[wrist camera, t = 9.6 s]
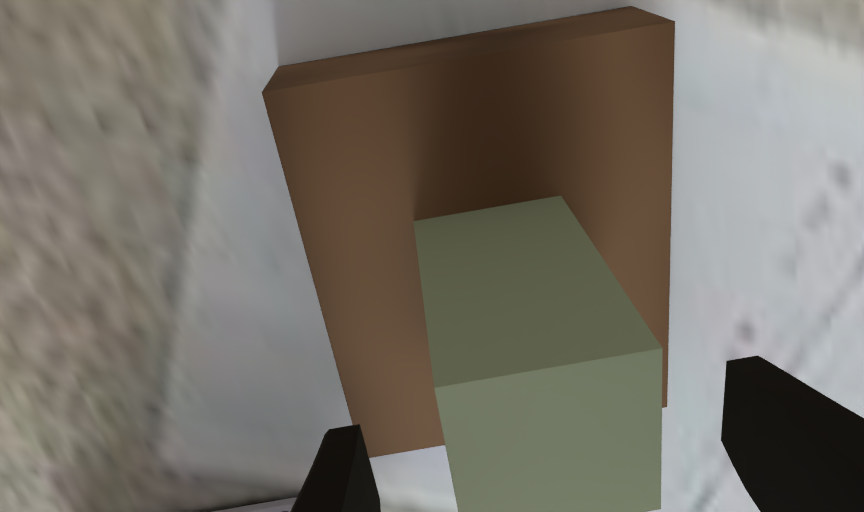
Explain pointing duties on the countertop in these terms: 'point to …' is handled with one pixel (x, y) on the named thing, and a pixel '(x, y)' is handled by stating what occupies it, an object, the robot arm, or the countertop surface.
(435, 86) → the plinth
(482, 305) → the block
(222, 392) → the countertop surface
